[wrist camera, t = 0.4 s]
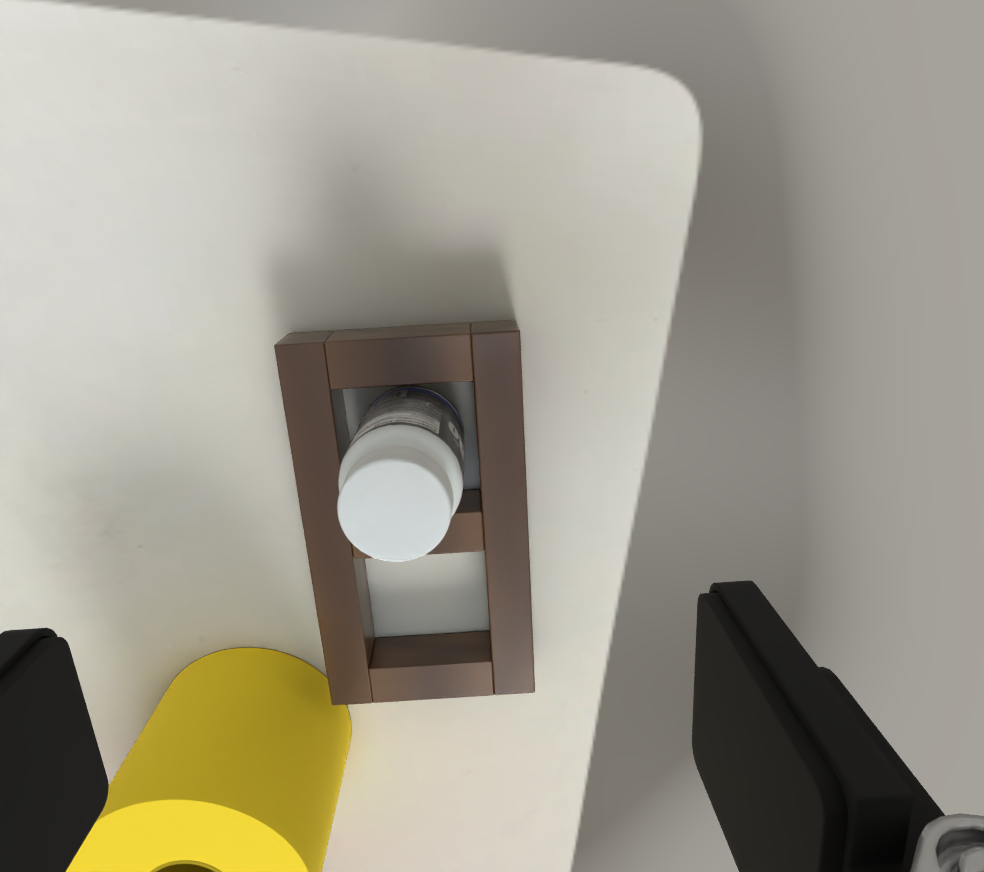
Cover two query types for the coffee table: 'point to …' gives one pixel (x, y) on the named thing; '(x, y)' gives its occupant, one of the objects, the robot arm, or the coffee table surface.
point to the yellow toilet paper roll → (228, 773)
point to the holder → (474, 526)
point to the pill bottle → (402, 475)
